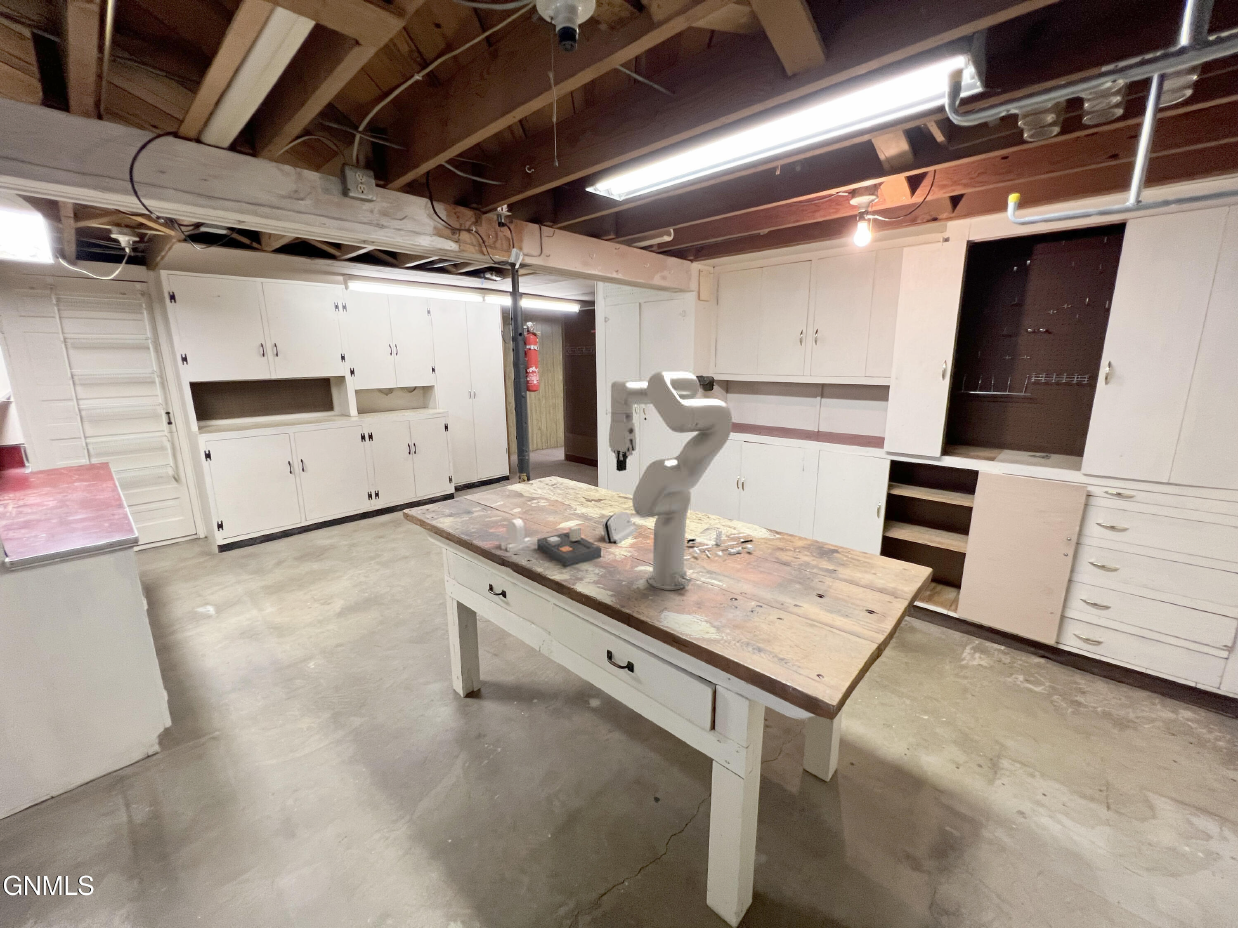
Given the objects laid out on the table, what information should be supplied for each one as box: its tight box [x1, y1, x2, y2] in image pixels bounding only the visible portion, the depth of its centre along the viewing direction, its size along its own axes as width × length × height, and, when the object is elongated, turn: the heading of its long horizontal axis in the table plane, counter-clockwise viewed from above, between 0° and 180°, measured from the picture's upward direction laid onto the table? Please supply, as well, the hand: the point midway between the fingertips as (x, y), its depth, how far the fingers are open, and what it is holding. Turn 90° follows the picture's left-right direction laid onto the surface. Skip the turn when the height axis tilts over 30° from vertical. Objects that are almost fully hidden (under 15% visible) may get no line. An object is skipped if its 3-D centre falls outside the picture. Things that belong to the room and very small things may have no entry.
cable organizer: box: [500, 518, 531, 552], centre depth 172 cm, size 5×10×10 cm, turn 143°
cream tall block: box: [569, 525, 582, 541], centre depth 169 cm, size 2×3×4 cm
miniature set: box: [684, 528, 755, 560], centre depth 170 cm, size 6×35×12 cm
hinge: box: [602, 511, 638, 545], centre depth 183 cm, size 17×5×10 cm, turn 151°
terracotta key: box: [559, 546, 573, 553], centre depth 161 cm, size 4×4×2 cm
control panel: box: [536, 531, 602, 568], centre depth 167 cm, size 20×14×4 cm
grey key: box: [547, 536, 561, 546], centre depth 167 cm, size 4×4×2 cm
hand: (621, 470), depth 165 cm, fingers closed
